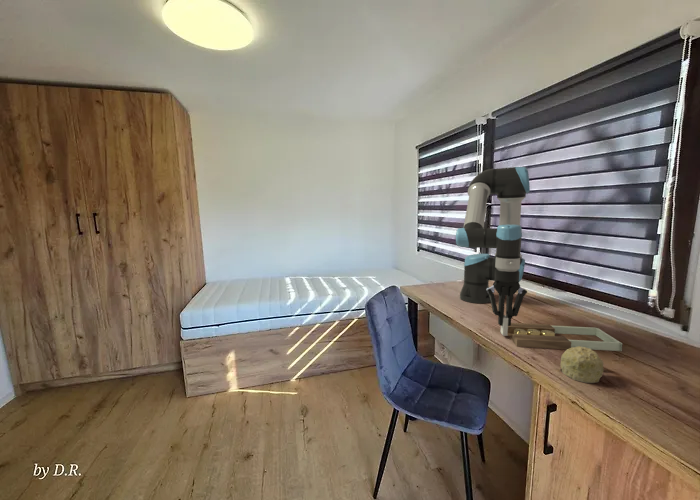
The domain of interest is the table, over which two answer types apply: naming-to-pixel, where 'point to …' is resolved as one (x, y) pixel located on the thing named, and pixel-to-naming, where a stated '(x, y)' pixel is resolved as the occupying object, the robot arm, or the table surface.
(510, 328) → the slot board
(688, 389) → the table surface
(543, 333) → the chip
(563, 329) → the tray
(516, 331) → the chip
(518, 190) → the robot arm
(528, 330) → the chip
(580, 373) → the decorative object
